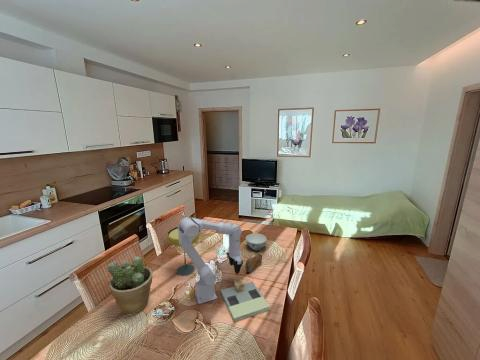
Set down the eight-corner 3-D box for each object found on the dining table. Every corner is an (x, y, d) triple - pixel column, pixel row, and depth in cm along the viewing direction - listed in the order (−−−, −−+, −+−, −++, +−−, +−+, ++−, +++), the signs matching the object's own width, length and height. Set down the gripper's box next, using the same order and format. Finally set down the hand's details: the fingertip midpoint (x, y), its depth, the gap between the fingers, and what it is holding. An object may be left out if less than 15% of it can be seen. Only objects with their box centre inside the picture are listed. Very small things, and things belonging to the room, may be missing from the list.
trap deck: (234, 322, 97) (234, 318, 96) (221, 293, 114) (221, 290, 113) (269, 309, 103) (269, 306, 103) (252, 284, 121) (252, 281, 120)
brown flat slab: (248, 275, 128) (248, 262, 126) (244, 273, 130) (244, 260, 128) (262, 263, 140) (262, 251, 138) (258, 261, 142) (258, 250, 140)
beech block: (237, 292, 112) (237, 286, 111) (234, 287, 115) (234, 281, 114) (244, 290, 113) (244, 284, 112) (241, 285, 117) (241, 279, 116)
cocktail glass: (164, 270, 133) (161, 232, 128) (190, 258, 146) (188, 223, 140) (180, 284, 121) (177, 242, 115) (206, 270, 133) (205, 232, 128)
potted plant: (143, 287, 119) (139, 245, 113) (162, 303, 107) (158, 257, 102) (106, 307, 105) (99, 260, 99) (124, 329, 93) (116, 277, 88)
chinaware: (267, 253, 151) (267, 243, 149) (245, 253, 151) (245, 243, 149) (265, 242, 165) (265, 233, 164) (245, 242, 166) (245, 233, 164)
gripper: (246, 251, 111) (246, 274, 114) (236, 238, 124) (236, 260, 127) (233, 254, 108) (234, 278, 111) (224, 240, 121) (225, 262, 124)
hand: (234, 268), depth 119 cm, fingers open, 7 cm apart
